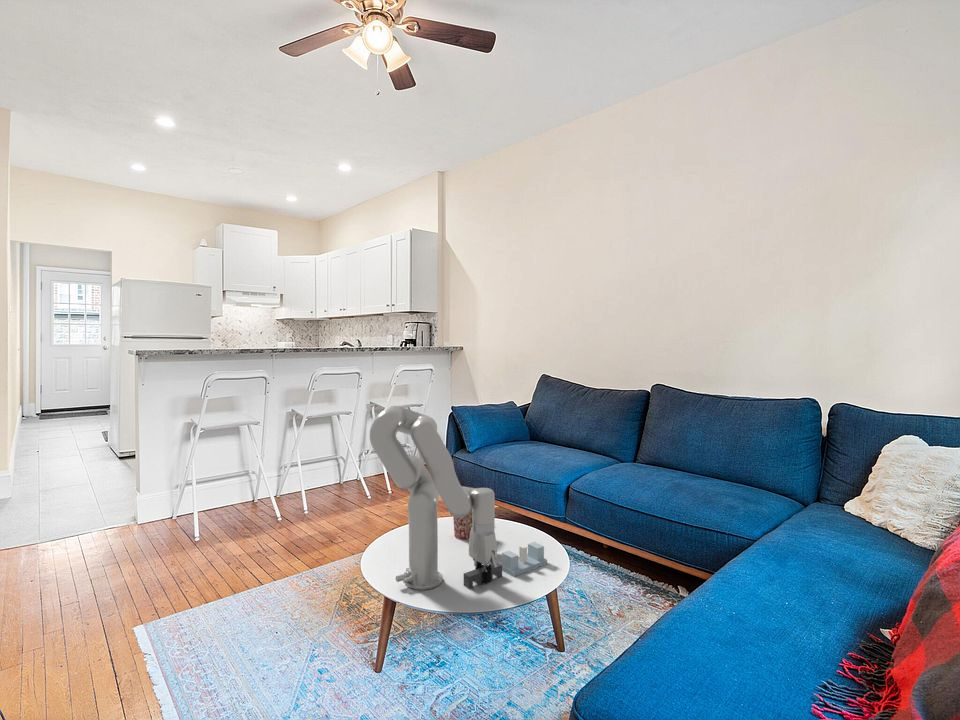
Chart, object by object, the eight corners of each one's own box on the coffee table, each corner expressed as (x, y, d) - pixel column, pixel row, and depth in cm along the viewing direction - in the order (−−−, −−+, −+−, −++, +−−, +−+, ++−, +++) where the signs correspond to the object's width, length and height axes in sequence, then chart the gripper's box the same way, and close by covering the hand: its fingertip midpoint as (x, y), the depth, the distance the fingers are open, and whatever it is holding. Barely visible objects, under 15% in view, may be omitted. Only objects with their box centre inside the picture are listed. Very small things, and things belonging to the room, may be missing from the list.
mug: (450, 540, 201) (450, 507, 200) (453, 531, 210) (453, 499, 209) (482, 540, 200) (482, 507, 200) (483, 531, 209) (483, 500, 209)
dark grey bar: (468, 589, 162) (468, 576, 162) (463, 585, 164) (463, 573, 164) (502, 576, 170) (502, 565, 170) (496, 573, 173) (496, 561, 172)
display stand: (513, 576, 170) (513, 556, 170) (498, 568, 176) (498, 548, 176) (547, 563, 180) (547, 544, 179) (531, 556, 186) (531, 537, 186)
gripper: (459, 521, 171) (459, 574, 171) (489, 536, 157) (489, 593, 158) (477, 516, 175) (477, 567, 176) (507, 531, 162) (507, 586, 163)
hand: (483, 579), depth 167 cm, fingers open, 3 cm apart
